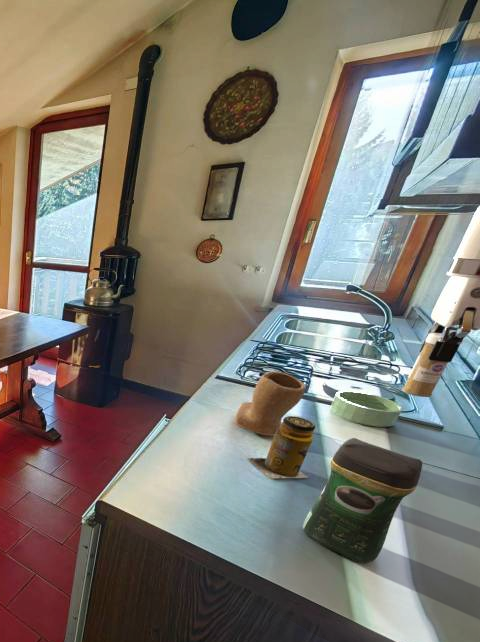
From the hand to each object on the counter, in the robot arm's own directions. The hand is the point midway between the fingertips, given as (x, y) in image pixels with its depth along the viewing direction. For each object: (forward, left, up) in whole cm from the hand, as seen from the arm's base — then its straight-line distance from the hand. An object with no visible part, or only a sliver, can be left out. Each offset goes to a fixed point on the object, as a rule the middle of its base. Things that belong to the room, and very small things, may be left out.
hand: (434, 356), depth 83 cm
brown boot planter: (+25, +3, -24) cm, 35 cm away
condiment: (+22, +24, -24) cm, 40 cm away
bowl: (+2, -20, -24) cm, 31 cm away
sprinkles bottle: (0, 0, -9) cm, 9 cm away
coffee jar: (+14, +44, -24) cm, 52 cm away
